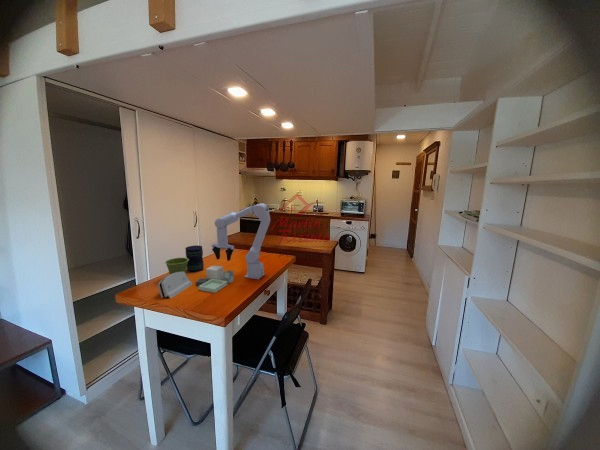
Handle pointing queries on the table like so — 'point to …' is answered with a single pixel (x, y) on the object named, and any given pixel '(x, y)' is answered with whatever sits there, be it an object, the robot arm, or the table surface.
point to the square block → (201, 281)
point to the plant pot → (177, 265)
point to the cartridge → (228, 276)
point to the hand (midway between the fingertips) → (223, 259)
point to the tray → (213, 285)
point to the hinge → (173, 284)
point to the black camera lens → (194, 259)
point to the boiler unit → (214, 272)
